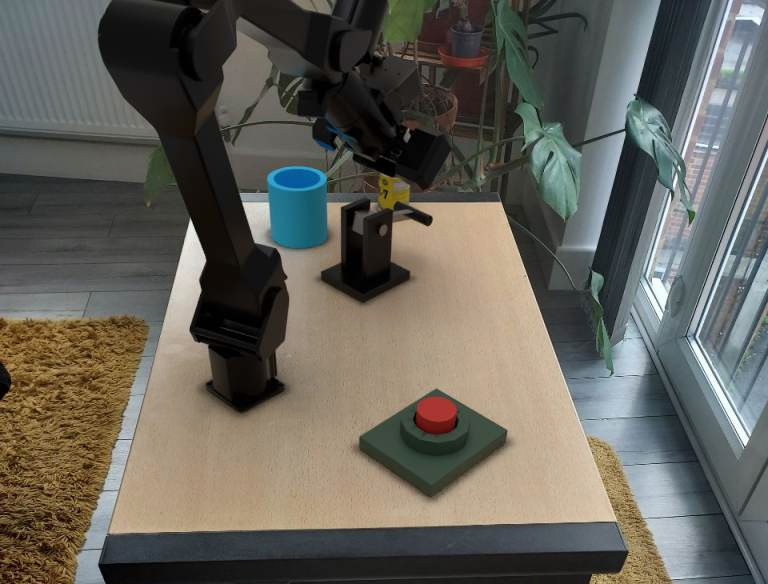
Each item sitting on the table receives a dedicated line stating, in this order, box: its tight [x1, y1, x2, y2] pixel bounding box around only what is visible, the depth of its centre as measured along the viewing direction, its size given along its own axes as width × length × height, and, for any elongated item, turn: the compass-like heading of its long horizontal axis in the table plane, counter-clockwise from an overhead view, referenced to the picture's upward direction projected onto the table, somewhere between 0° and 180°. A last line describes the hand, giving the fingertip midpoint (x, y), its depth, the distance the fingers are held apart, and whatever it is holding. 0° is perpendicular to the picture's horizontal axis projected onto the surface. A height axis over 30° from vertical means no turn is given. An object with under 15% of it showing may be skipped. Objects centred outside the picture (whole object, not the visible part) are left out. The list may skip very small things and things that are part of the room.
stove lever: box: [352, 201, 434, 235], centre depth 103 cm, size 11×6×2 cm, turn 136°
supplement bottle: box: [377, 172, 411, 212], centre depth 118 cm, size 5×5×8 cm
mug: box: [266, 165, 329, 249], centre depth 112 cm, size 12×8×8 cm
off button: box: [416, 397, 457, 435], centre depth 79 cm, size 4×4×2 cm
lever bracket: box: [320, 196, 411, 303], centre depth 102 cm, size 9×8×10 cm
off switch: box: [358, 388, 509, 498], centre depth 81 cm, size 12×10×4 cm
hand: (409, 176), depth 101 cm, fingers closed
